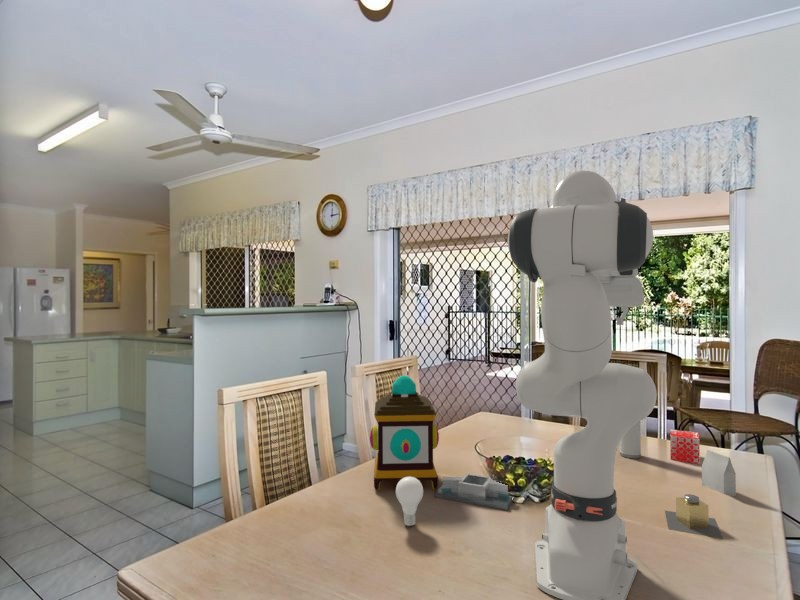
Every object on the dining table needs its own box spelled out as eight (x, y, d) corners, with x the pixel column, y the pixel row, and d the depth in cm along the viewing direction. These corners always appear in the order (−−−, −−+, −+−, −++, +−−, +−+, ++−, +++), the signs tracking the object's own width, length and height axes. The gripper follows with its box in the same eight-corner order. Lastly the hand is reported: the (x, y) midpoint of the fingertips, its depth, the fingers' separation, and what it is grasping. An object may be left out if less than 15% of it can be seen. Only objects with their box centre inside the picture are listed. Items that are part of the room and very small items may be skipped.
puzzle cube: (699, 464, 145) (699, 438, 145) (670, 459, 149) (670, 435, 149) (698, 456, 152) (697, 432, 152) (670, 452, 156) (670, 429, 156)
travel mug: (614, 454, 154) (613, 394, 154) (628, 451, 157) (627, 392, 157) (631, 460, 148) (630, 397, 148) (645, 457, 151) (644, 395, 151)
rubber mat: (723, 542, 97) (723, 538, 97) (668, 532, 102) (668, 528, 102) (714, 522, 106) (714, 518, 106) (664, 513, 111) (664, 510, 111)
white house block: (723, 497, 120) (723, 458, 120) (702, 487, 127) (701, 450, 127) (735, 495, 121) (735, 457, 121) (713, 486, 127) (713, 449, 127)
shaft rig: (507, 510, 113) (507, 492, 113) (434, 496, 121) (434, 480, 121) (515, 495, 122) (515, 478, 122) (447, 483, 130) (447, 467, 130)
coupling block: (708, 527, 102) (708, 500, 102) (689, 528, 102) (689, 501, 102) (694, 518, 106) (694, 492, 106) (676, 519, 106) (675, 493, 106)
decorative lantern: (369, 493, 124) (368, 381, 124) (371, 467, 144) (370, 370, 144) (443, 492, 124) (442, 380, 125) (435, 466, 144) (434, 369, 144)
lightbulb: (400, 534, 102) (399, 484, 102) (392, 521, 108) (392, 473, 108) (427, 530, 104) (427, 481, 104) (418, 517, 110) (418, 471, 110)
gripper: (555, 271, 119) (556, 324, 119) (645, 268, 112) (645, 325, 112) (556, 272, 125) (556, 324, 125) (641, 270, 118) (641, 324, 118)
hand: (599, 324), depth 118 cm, fingers open, 8 cm apart
